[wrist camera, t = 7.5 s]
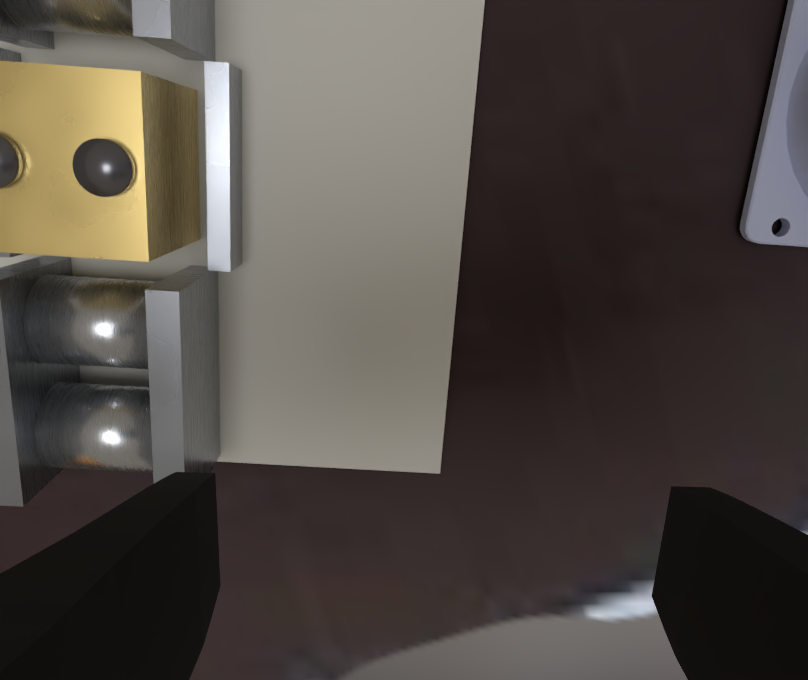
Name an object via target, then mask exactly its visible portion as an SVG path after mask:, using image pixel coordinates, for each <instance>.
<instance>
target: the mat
mask: <svg viewBox="0 0 808 680" xmlns="http://www.w3.org/2000/svg"><path fill="white" fill-rule="evenodd" d="M484 4H485V0H215V59H216V62H224V63H230V64H232V65H234V66H235V67H237V68H239V69H241V70H242V264H241V265H239V266H238V267H237V268H235V269H234V270H233V271H231V272H224V271H218V293H219V371H220V449H221V455H220V456H219V458H218V460H217V461H218V462H236V463H254V464H273V465H291V466H309V467H328V468H346V469H364V470H383V471H401V472H419V473H438V474H440V468H441V458H442V447H443V436H444V426H445V415H446V405H447V394H448V384H449V373H450V363H451V352H452V341H453V331H454V320H455V310H456V299H457V289H458V278H459V267H460V257H461V246H462V236H463V225H464V215H465V204H466V194H467V183H468V172H469V162H470V151H471V141H472V130H473V120H474V109H475V99H476V88H477V77H478V67H479V56H480V46H481V35H482V25H483V14H484ZM53 32H54V45H55V50H51V49H38V48H25V47H21V46H17V45H14V44H11V43H7V42H4V41H0V48H3V49H7V50H11V51H14V52H18V53H21V62H26V63H39V64H52V65H65V66H78V67H92V68H105V69H118V70H131V71H141V72H144V73H147V74H150V75H153V76H156V77H159V78H162V79H165V80H168V81H171V82H174V83H177V84H180V85H183V86H186V87H189V88H193V89H196V90H198V139H199V187H200V236H201V239H200V240H198V241H195V242H193V243H191V244H189V245H186V246H184V247H182V248H179V249H177V250H175V251H173V252H170V253H168V254H166V255H163V256H161V257H159V258H157V259H154V260H152V261H150V262H143V261H127V260H112V259H97V258H81V257H71V263H72V276H78V277H93V278H109V279H124V280H140V281H155V282H160V281H162V280H164V279H166V278H167V277H169V276H171V275H173V274H175V273H177V272H178V271H180V270H182V269H184V268H186V267H188V266H190V265H197V266H208V241H207V184H206V126H205V69H204V61H195V60H185V59H182V58H180V57H178V56H176V55H174V54H172V53H169V52H167V51H165V50H163V49H161V48H158V47H156V46H154V45H152V44H150V43H148V42H145V41H143V40H141V39H139V38H132V37H119V36H106V35H94V34H81V33H68V32H55V31H53ZM39 256H43V255H35V254H22V255H18V256H14V257H11V258H9V257H0V268H1V267H4V266H8V265H11V264H15V263H18V262H22V261H25V260H29V259H32V258H36V257H39ZM44 256H51V255H44ZM59 257H66V256H59ZM80 378H81V383H87V384H104V385H122V386H139V387H149V370H148V369H135V368H118V367H101V366H85V365H80Z"/></svg>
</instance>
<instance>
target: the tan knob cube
mask: <svg viewBox="0 0 808 680" xmlns="http://www.w3.org/2000/svg"><path fill="white" fill-rule="evenodd" d="M200 239H201V236H200V187H199V139H198V90H196V89H193V88H189V87H186V86H183V85H180V84H177V83H174V82H171V81H168V80H165V79H162V78H159V77H156V76H153V75H150V74H147V73H144V72H141V71H131V70H118V69H105V68H92V67H78V66H65V65H52V64H39V63H26V62H12V61H0V252H5V253H20V254H35V255H51V256H66V257H81V258H97V259H112V260H127V261H143V262H150V261H152V260H154V259H157V258H159V257H161V256H163V255H166V254H168V253H170V252H173V251H175V250H177V249H179V248H182V247H184V246H186V245H189V244H191V243H193V242H195V241H198V240H200Z"/></svg>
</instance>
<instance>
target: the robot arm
mask: <svg viewBox="0 0 808 680" xmlns="http://www.w3.org/2000/svg"><path fill="white" fill-rule="evenodd" d="M777 219H780V220H781V222H782V227H781V229H780V231H779V232H778V233H777V234H775V235H774V234H773V233H772V225H773V223H774V222H775V221H776V220H777ZM740 232H741V234H742V237H744V238H745V239H746V240H747V241H750V242H754V243H758V244H771V245H786V246H801V247H808V0H788V3H787V8H786V13H785V17H784V22H783V27H782V31H781V36H780V41H779V45H778V50H777V55H776V59H775V64H774V68H773V73H772V78H771V82H770V87H769V92H768V96H767V101H766V106H765V110H764V115H763V119H762V124H761V129H760V133H759V138H758V143H757V147H756V152H755V157H754V161H753V166H752V171H751V175H750V180H749V184H748V189H747V194H746V198H745V203H744V208H743V212H742V217H741V222H740ZM219 588H220V569H219V547H218V525H217V504H216V482H215V473H196V472H175V473H173V474H171V475H168V476H166V477H165V478H163V479H161V480H159V481H158V482H156V483H154V484H153V485H151V486H149V487H148V488H146V489H144V490H143V491H141V492H139V493H138V494H136V495H135V496H133V497H131V498H130V499H128V500H127V501H125V502H123V503H122V504H120V505H118V506H117V507H115V508H114V509H112V510H110V511H109V512H107V513H105V514H104V515H102V516H101V517H99V518H97V519H96V520H94V521H92V522H91V523H89V524H87V525H86V526H84V527H83V528H81V529H79V530H78V531H76V532H74V533H73V534H71V535H69V536H67V537H65V538H64V539H62V540H60V541H58V542H56V543H55V544H53V545H51V546H49V547H48V548H46V549H44V550H42V551H40V552H39V553H37V554H35V555H33V556H31V557H30V558H28V559H26V560H24V561H23V562H21V563H19V564H17V565H15V566H14V567H12V568H10V569H8V570H6V571H4V572H2V573H1V574H0V680H189V678H190V676H191V674H192V671H193V669H194V667H195V664H196V662H197V659H198V657H199V655H200V652H201V650H202V647H203V644H204V641H205V638H206V634H207V631H208V628H209V624H210V621H211V617H212V614H213V610H214V607H215V603H216V599H217V596H218V592H219ZM652 598H653V600H654V603H655V606H656V609H657V611H658V614H659V617H660V619H661V622H662V624H663V627H664V630H665V632H666V635H667V637H668V639H669V642H670V644H671V647H672V649H673V652H674V654H675V656H676V658H677V660H678V662H679V664H680V666H681V668H682V669H683V671H684V673H685V675H686V677H687V679H688V680H808V535H807V534H805V533H803V532H801V531H799V530H797V529H795V528H793V527H791V526H789V525H787V524H785V523H784V522H782V521H780V520H778V519H776V518H774V517H772V516H770V515H768V514H766V513H764V512H762V511H760V510H758V509H756V508H754V507H752V506H750V505H748V504H746V503H744V502H742V501H740V500H738V499H736V498H734V497H732V496H729V495H727V494H725V493H722V492H720V491H717V490H715V489H712V488H706V487H672V486H671V492H670V497H669V503H668V508H667V514H666V520H665V525H664V531H663V536H662V542H661V548H660V553H659V559H658V564H657V570H656V575H655V581H654V587H653V592H652Z"/></svg>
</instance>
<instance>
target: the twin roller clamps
mask: <svg viewBox="0 0 808 680" xmlns="http://www.w3.org/2000/svg"><path fill="white" fill-rule="evenodd" d="M53 31H55V32H68V33H81V34H94V35H106V36H119V37H132V38H139V39H141V40H143V41H145V42H148V43H150V44H152V45H154V46H156V47H158V48H161V49H163V50H165V51H167V52H169V53H172V54H174V55H176V56H178V57H180V58H182V59H185V60H195V61H204V69H205V126H206V184H207V241H208V266H197V265H190V266H188V267H186V268H184V269H182V270H180V271H178V272H177V273H175V274H173V275H171V276H169V277H167V278H166V279H164V280H162V281H160V282H155V281H140V280H124V279H109V278H93V277H78V276H72V263H71V257H59V256H44V255H43V256H39V257H36V258H32V259H29V260H25V261H22V262H18V263H15V264H11V265H8V266H4V267H1V268H0V505H3V506H24V505H26V504H27V503H28V502H29V501H30V500H31V499H32V498H33V497H34V496H35V495H36V494H37V493H38V492H39V491H40V490H41V489H42V488H43V487H44V486H46V485H47V484H48V483H49V482H50V481H51V480H52V479H53V478H54V477H55V476H56V475H57V474H58V473H59V472H60V471H61V470H62V469H63V468H78V469H97V470H116V471H134V472H153V478H154V483H156V482H158V481H159V480H161V479H163V478H165V477H166V476H168V475H171V474H173V473H175V472H196V473H210V472H211V470H212V469H213V467H214V465H215V463H216V462H217V460H218V458H219V456H220V455H221V449H220V371H219V293H218V271H224V272H231V271H233V270H234V269H235V268H237V267H238V266H239V265H241V264H242V70H241V69H239V68H237V67H235V66H234V65H232V64H230V63H224V62H216V59H215V0H0V41H4V42H7V43H11V44H14V45H17V46H21V47H25V48H38V49H51V50H55V45H54V32H53ZM0 61H12V62H21V53H18V52H14V51H11V50H7V49H3V48H0ZM18 255H22V254H20V253H5V252H0V257H9V258H11V257H14V256H18ZM80 365H85V366H101V367H118V368H135V369H148V370H149V387H139V386H122V385H104V384H87V383H81V378H80Z"/></svg>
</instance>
